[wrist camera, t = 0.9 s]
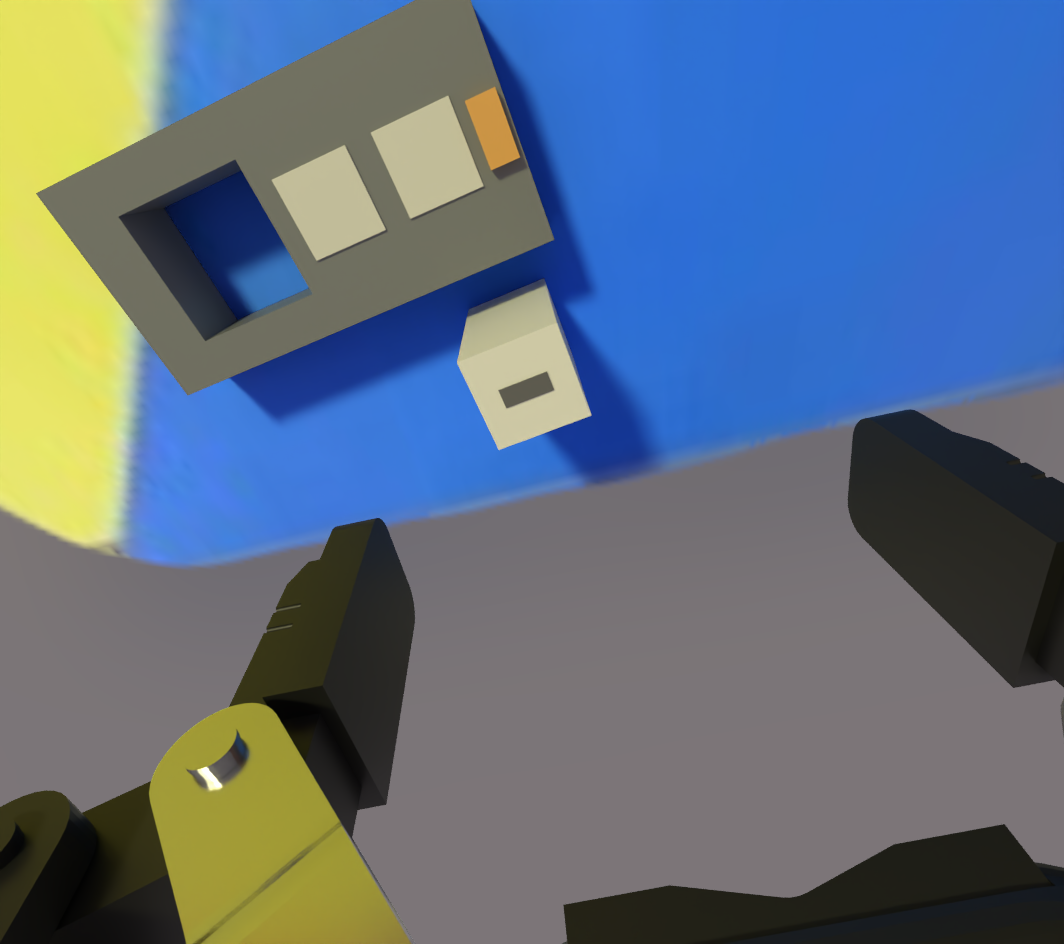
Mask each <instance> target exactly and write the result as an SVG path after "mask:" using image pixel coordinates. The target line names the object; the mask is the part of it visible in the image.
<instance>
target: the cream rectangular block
mask: <svg viewBox="0 0 1064 944" xmlns="http://www.w3.org/2000/svg"><path fill="white" fill-rule="evenodd" d="M457 364H458V366H459V368H460V370H461V372H462V374H463V376H464V378H465V380H466V382H467V384H468V387H469V389H470V391H471V393H472V395H473V397H474V399H475V401H476V403H477V405H478V407H479V409H480V412H481V414H482V416H483V418H484V420H485V422H486V424H487V426H488V428H489V430H490V432H491V434H492V437H493V439H494V441H495V443H496V445H497V447H498V449H499V450H500V449H503V448H506V447H508V446H511V445H514V444H516V443H519V442H522V441H524V440H527V439H530V438H532V437H535V436H538V435H541V434H543V433H546V432H549V431H551V430H554V429H557V428H559V427H562V426H565V425H567V424H570V423H573V422H575V421H578V420H581V419H584V418H586V417H589V416H592V415H591V412H590V409H589V406H588V403H587V400H586V396H585V393H584V390H583V387H582V384H581V381H580V378H579V374H578V371H577V368H576V365H575V362H574V359H573V356H572V352H571V350H570V347H569V344H568V342H567V339H566V336H565V334H564V331H563V328H562V325H561V323H560V320H559V317H558V315H557V312H556V309H555V307H554V304H553V301H552V298H551V296H550V293H549V290H548V288H547V285H546V282H545V280H544V278H543V279H541V280H538V281H536V282H534V283H531V284H529V285H526V286H524V287H522V288H519V289H517V290H514V291H512V292H509V293H507V294H505V295H502V296H500V297H497V298H495V299H493V300H490V301H488V302H485V303H483V304H481V305H478V306H476V307H473V308H471V309H469V310H468V315H467V319H466V324H465V329H464V333H463V338H462V342H461V347H460V351H459V356H458V360H457Z"/></svg>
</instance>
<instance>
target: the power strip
mask: <svg viewBox="0 0 1064 944" xmlns="http://www.w3.org/2000/svg"><path fill="white" fill-rule="evenodd" d="M241 170H242V172H243V174H244V176H245V177H246V179H247V181H248V183H249V184H250V186H251V188H252V190H253V191H254V193H255V195H256V196H257V198H258V200H259V202H260V203H261V205H262V207H263V209H264V210H265V212H266V214H267V216H268V217H269V219H270V221H271V222H272V224H273V226H274V228H275V229H276V231H277V233H278V235H279V236H280V238H281V240H282V242H283V243H284V245H285V247H286V248H287V250H288V252H289V254H290V255H291V257H292V259H293V261H294V262H295V264H296V266H297V268H298V269H299V271H300V273H301V274H302V276H303V278H304V280H305V281H306V283H307V285H308V287H309V289H306V290H304V291H302V292H300V293H297V294H295V295H293V296H291V297H288V298H286V299H284V300H281V301H279V302H277V303H275V304H272V305H270V306H268V307H266V308H263V309H261V310H259V311H256V312H254V313H252V314H250V315H247V316H245V317H243V318H241V319H238V320H237V319H236V317H235V316H234V314H233V313H232V311H231V310H230V308H229V307H228V305H227V303H226V302H225V300H224V299H223V297H222V296H221V294H220V293H219V291H218V290H217V288H216V287H215V285H214V284H213V282H212V281H211V279H210V278H209V276H208V275H207V273H206V272H205V270H204V268H203V267H202V265H201V264H200V262H199V261H198V259H197V258H196V256H195V255H194V253H193V252H192V250H191V249H190V247H189V246H188V244H187V243H186V241H185V240H184V238H183V237H182V235H181V233H180V232H179V230H178V229H177V227H176V226H175V224H174V223H173V221H172V220H171V218H170V217H169V215H168V214H167V212H166V211H165V209H164V208H165V207H167V206H169V205H171V204H173V203H175V202H177V201H179V200H181V199H183V198H185V197H188V196H190V195H192V194H194V193H196V192H198V191H200V190H202V189H204V188H206V187H208V186H210V185H212V184H214V183H216V182H218V181H221V180H223V179H225V178H227V177H229V176H231V175H233V174H235V173H237V172H239V171H241ZM36 194H37V195H38V197H39V198H40V199H41V201H42V202H43V203H44V205H45V206H46V207H47V209H48V210H49V211H50V213H51V214H52V215H53V217H54V218H55V219H56V221H57V222H58V223H59V225H60V226H61V227H62V229H63V230H64V231H65V233H66V234H67V235H68V237H69V238H70V239H71V241H72V242H73V243H74V245H75V246H76V247H77V249H78V250H79V251H80V253H81V254H82V255H83V257H84V258H85V259H86V261H87V262H88V263H89V265H90V266H91V267H92V269H93V270H94V271H95V273H96V274H97V275H98V277H99V278H100V279H101V281H102V282H103V283H104V285H105V286H106V287H107V289H108V290H109V291H110V293H111V294H112V295H113V297H114V298H115V299H116V301H117V302H118V303H119V305H120V306H121V307H122V309H123V310H124V311H125V313H126V314H127V315H128V317H129V318H130V319H131V321H132V322H133V323H134V325H135V326H136V327H137V329H138V330H139V331H140V333H141V334H142V335H143V337H144V338H145V339H146V341H147V342H148V343H149V345H150V346H151V347H152V348H153V350H154V351H155V352H156V354H157V355H158V356H159V358H160V359H161V360H162V362H163V363H164V364H165V366H166V367H167V368H168V370H169V371H170V372H171V374H172V375H173V376H174V378H175V379H176V380H177V382H178V383H179V384H180V386H181V387H182V388H183V390H184V391H185V392H186V394H187V395H190V394H192V393H194V392H197V391H199V390H202V389H204V388H206V387H209V386H211V385H213V384H216V383H218V382H220V381H223V380H225V379H227V378H230V377H232V376H235V375H237V374H239V373H242V372H244V371H246V370H249V369H251V368H253V367H256V366H258V365H260V364H263V363H265V362H268V361H270V360H272V359H275V358H277V357H279V356H282V355H284V354H286V353H289V352H291V351H293V350H296V349H298V348H301V347H303V346H305V345H308V344H310V343H312V342H315V341H317V340H319V339H322V338H324V337H326V336H329V335H331V334H334V333H336V332H338V331H341V330H343V329H345V328H348V327H350V326H352V325H355V324H357V323H359V322H362V321H364V320H366V319H369V318H371V317H374V316H376V315H378V314H381V313H383V312H385V311H388V310H390V309H392V308H395V307H397V306H399V305H402V304H404V303H407V302H409V301H411V300H414V299H416V298H418V297H421V296H423V295H425V294H428V293H430V292H432V291H435V290H437V289H440V288H442V287H444V286H447V285H449V284H451V283H454V282H456V281H458V280H461V279H463V278H465V277H468V276H470V275H473V274H475V273H477V272H480V271H482V270H484V269H487V268H489V267H491V266H494V265H496V264H498V263H501V262H503V261H506V260H508V259H510V258H513V257H515V256H517V255H520V254H522V253H524V252H527V251H529V250H531V249H534V248H536V247H539V246H541V245H543V244H546V243H548V242H550V241H553V240H554V237H553V234H552V231H551V229H550V226H549V223H548V220H547V217H546V214H545V211H544V209H543V206H542V203H541V200H540V197H539V194H538V192H537V189H536V186H535V183H534V180H533V177H532V174H531V172H530V169H529V166H528V163H527V160H526V157H525V154H524V152H523V149H522V146H521V143H520V140H519V137H518V134H517V132H516V129H515V126H514V123H513V120H512V117H511V114H510V112H509V109H508V106H507V103H506V100H505V97H504V95H503V92H502V89H501V86H500V83H499V80H498V77H497V75H496V72H495V69H494V66H493V63H492V60H491V57H490V55H489V52H488V49H487V46H486V43H485V40H484V37H483V35H482V32H481V29H480V26H479V23H478V20H477V17H476V15H475V12H474V9H473V6H472V3H471V0H415V1H413V2H411V3H409V4H407V5H405V6H403V7H401V8H399V9H397V10H395V11H393V12H391V13H389V14H387V15H385V16H383V17H381V18H379V19H378V20H376V21H374V22H372V23H370V24H368V25H366V26H364V27H362V28H360V29H358V30H356V31H354V32H352V33H350V34H348V35H346V36H344V37H342V38H340V39H338V40H336V41H334V42H332V43H330V44H328V45H327V46H325V47H323V48H321V49H319V50H317V51H315V52H313V53H311V54H309V55H307V56H305V57H303V58H301V59H299V60H297V61H295V62H293V63H291V64H289V65H287V66H285V67H283V68H281V69H279V70H277V71H275V72H274V73H272V74H270V75H268V76H266V77H264V78H262V79H260V80H258V81H256V82H254V83H252V84H250V85H248V86H246V87H244V88H242V89H240V90H238V91H236V92H234V93H232V94H230V95H228V96H226V97H224V98H222V99H221V100H219V101H217V102H215V103H213V104H211V105H209V106H207V107H205V108H203V109H201V110H199V111H197V112H195V113H193V114H191V115H189V116H187V117H185V118H183V119H181V120H179V121H177V122H175V123H173V124H171V125H170V126H168V127H166V128H164V129H162V130H160V131H158V132H156V133H154V134H152V135H150V136H148V137H146V138H144V139H142V140H140V141H138V142H136V143H134V144H132V145H130V146H128V147H126V148H124V149H122V150H120V151H118V152H117V153H115V154H113V155H111V156H109V157H107V158H105V159H103V160H101V161H99V162H97V163H95V164H93V165H91V166H89V167H87V168H85V169H83V170H81V171H79V172H77V173H75V174H73V175H71V176H69V177H67V178H66V179H64V180H62V181H60V182H58V183H56V184H54V185H52V186H50V187H48V188H46V189H44V190H42V191H40V192H38V193H36Z"/></svg>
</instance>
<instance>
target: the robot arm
mask: <svg viewBox="0 0 1064 944" xmlns="http://www.w3.org/2000/svg"><path fill="white" fill-rule="evenodd" d="M848 508H849V513H850V517H851V520H852V522H853V525H854V527H855V528H856V530H857V532H858V533H859V534H860V535H861V537H862V538H863V539H864V540H865V541H866V542H867V543H869V545H870V546H871V547H872V548H873V549H874V550H875V551H876V552H877V553H878V554H879V555H880V556H881V557H882V558H884V560H885V561H886V562H887V563H888V564H889V565H890V566H891V567H892V568H893V569H895V571H896V572H897V573H898V574H899V575H900V576H901V577H903V578H904V580H906V582H907V583H908V584H909V585H910V586H911V587H913V589H914V590H915V591H917V593H919V594H920V595H921V596H922V598H923V599H924V600H925V601H926V602H928V604H929V605H931V607H932V608H933V609H935V610H936V611H937V612H938V613H939V614H940V615H941V616H942V617H943V618H944V619H945V620H946V621H947V622H948V623H949V624H950V625H951V626H952V627H953V628H954V629H955V630H956V631H957V632H958V633H959V634H960V635H961V636H962V637H963V638H964V639H965V640H966V641H967V642H968V643H969V644H970V645H971V646H972V647H973V648H974V649H975V650H976V651H977V652H978V653H979V654H980V655H981V656H982V657H983V658H984V659H985V660H986V661H987V662H988V663H989V664H990V665H991V666H992V667H993V668H994V669H995V670H996V671H997V672H998V673H999V674H1000V675H1001V676H1002V677H1003V678H1004V679H1005V680H1006V681H1007V682H1008V683H1009V684H1010V685H1011V686H1012V687H1013V688H1015V687H1021V686H1026V685H1031V684H1036V683H1041V682H1047V681H1052V680H1056V681H1057V682H1058V683H1059V684H1061V685H1062V686H1063V687H1064V483H1062V482H1060V481H1058V480H1057V479H1055V478H1053V477H1048V478H1047V477H1046V476H1045V473H1044V472H1042V471H1040V470H1038V469H1037V468H1035V467H1033V466H1031V465H1030V464H1028V463H1020V459H1019V458H1017V457H1015V456H1013V455H1011V454H1010V453H1008V452H1006V451H1004V450H1002V449H1001V448H999V447H997V446H995V445H993V444H992V443H990V442H986V441H983V440H979V439H976V438H972V437H969V436H966V435H962V434H958V433H955V432H952V431H950V430H949V429H947V428H945V427H943V426H941V425H940V424H938V423H936V422H935V421H933V420H931V419H929V418H928V417H926V416H924V415H923V414H921V413H919V412H917V411H915V410H904V411H899V412H894V413H889V414H885V415H880V416H875V417H870V418H865V419H862V420H860V421H859V422H858V423H857V424H856V426H855V429H854V432H853V441H852V454H851V467H850V479H849V491H848ZM276 611H277V612H276V613H273V615H272V617H271V620H270V622H269V624H268V626H267V633H264V634H263V636H262V639H261V641H260V643H259V645H258V647H257V649H256V651H255V653H254V655H253V658H252V660H251V662H250V664H249V666H248V668H247V670H246V672H245V674H244V676H243V679H242V681H241V683H240V685H239V687H238V689H237V691H236V693H235V695H234V698H233V700H232V702H231V704H230V706H229V707H228V708H226V709H223V710H221V711H218V712H216V713H214V714H212V715H210V716H209V717H207V718H205V719H204V720H202V721H201V722H199V723H198V724H196V725H195V726H194V727H192V728H191V729H190V730H189V731H187V732H186V733H185V734H184V735H183V736H182V737H181V738H180V739H179V740H178V741H177V742H176V743H175V744H174V745H173V746H172V747H171V748H170V749H169V751H168V752H167V753H166V754H165V756H164V757H163V759H162V760H161V762H160V763H159V765H158V767H157V769H156V771H155V773H154V774H153V777H152V780H151V782H148V783H146V784H144V785H142V786H139V787H137V788H135V789H133V790H131V791H129V792H126V793H124V794H122V795H120V796H118V797H116V798H113V799H112V800H109V801H107V802H105V803H103V804H101V805H98V806H96V807H94V808H92V809H90V810H88V811H85V812H83V813H81V812H80V811H79V809H77V807H76V806H75V805H74V804H72V802H71V801H70V800H69V799H68V798H67V797H66V796H64V795H63V794H62V793H59V792H56V791H41V792H35V793H32V794H28V795H26V796H23V797H20V798H18V799H15V800H13V801H11V802H9V803H7V804H6V805H3V806H2V807H0V944H415V942H414V941H413V939H412V938H411V936H410V934H409V933H408V931H407V929H406V927H405V926H404V924H403V922H402V921H401V919H400V917H399V916H398V914H397V912H396V911H395V909H394V907H393V906H392V904H391V902H390V901H389V899H388V897H387V896H386V894H385V892H384V891H383V889H382V887H381V886H380V884H379V882H378V880H377V879H376V877H375V875H374V874H373V872H372V870H371V869H370V867H369V865H368V864H367V862H366V860H365V859H364V857H363V855H362V854H361V852H360V850H359V849H358V847H357V845H356V844H355V842H354V840H353V839H352V835H353V830H354V824H355V819H356V815H357V810H360V809H365V808H370V807H375V806H380V805H386V803H387V796H388V790H389V784H390V777H391V770H392V764H393V757H394V751H395V745H396V739H397V733H398V726H399V720H400V713H401V707H402V700H403V694H404V688H405V681H406V675H407V668H408V662H409V656H410V649H411V643H412V637H413V630H414V623H415V611H414V602H413V597H412V593H411V590H410V587H409V584H408V581H407V579H406V576H405V573H404V571H403V568H402V566H401V563H400V560H399V558H398V555H397V553H396V550H395V547H394V545H393V542H392V539H391V537H390V534H389V532H388V529H387V527H386V525H385V523H384V522H383V521H382V520H381V519H380V518H375V519H370V520H366V521H361V522H356V523H351V524H346V525H341V526H337V527H335V528H334V529H333V530H332V532H331V535H330V537H329V539H328V542H327V544H326V546H325V549H324V551H323V554H322V556H321V558H320V560H316V561H311V562H308V563H307V564H306V565H305V566H304V567H303V568H302V569H301V571H300V572H299V573H298V574H297V575H296V576H295V577H294V578H293V579H292V580H291V581H290V582H289V583H288V584H287V586H286V588H285V590H284V592H283V594H282V596H281V598H280V601H279V603H278V605H277V607H276ZM1061 717H1062V718H1061V719H1062V728H1063V736H1064V698H1063V701H1062V704H1061ZM564 914H565V923H566V934H567V942H565V943H563V944H1064V868H1062V867H1057V866H1052V865H1047V864H1042V863H1035V862H1033V860H1032V859H1031V858H1030V856H1029V855H1028V854H1027V853H1026V851H1025V850H1024V849H1023V848H1022V846H1021V845H1020V844H1019V843H1018V841H1017V840H1016V838H1015V837H1014V836H1013V835H1012V834H1011V832H1010V831H1009V830H1008V828H1007V827H1006V826H1005V825H1004V824H1003V825H998V826H993V827H987V828H981V829H976V830H970V831H965V832H960V833H954V834H949V835H944V836H938V837H932V838H927V839H922V840H916V841H911V842H905V843H900V844H895V845H892V846H890V847H889V848H887V849H885V850H883V851H882V852H880V853H878V854H876V855H874V856H872V857H871V858H869V859H867V860H865V861H863V862H862V863H860V864H858V865H856V866H854V867H853V868H851V869H849V870H847V871H845V872H844V873H842V874H840V875H838V876H836V877H835V878H833V879H831V880H829V881H827V882H826V883H824V884H822V885H820V886H819V887H816V888H815V889H813V890H811V891H809V892H808V893H805V894H803V895H801V896H797V897H792V898H781V897H771V896H762V895H753V894H743V893H734V892H725V891H716V890H707V889H698V888H688V887H679V886H664V887H659V888H654V889H649V890H643V891H637V892H632V893H627V894H621V895H615V896H610V897H604V898H599V899H593V900H588V901H582V902H577V903H572V904H566V905H564Z"/></svg>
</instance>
